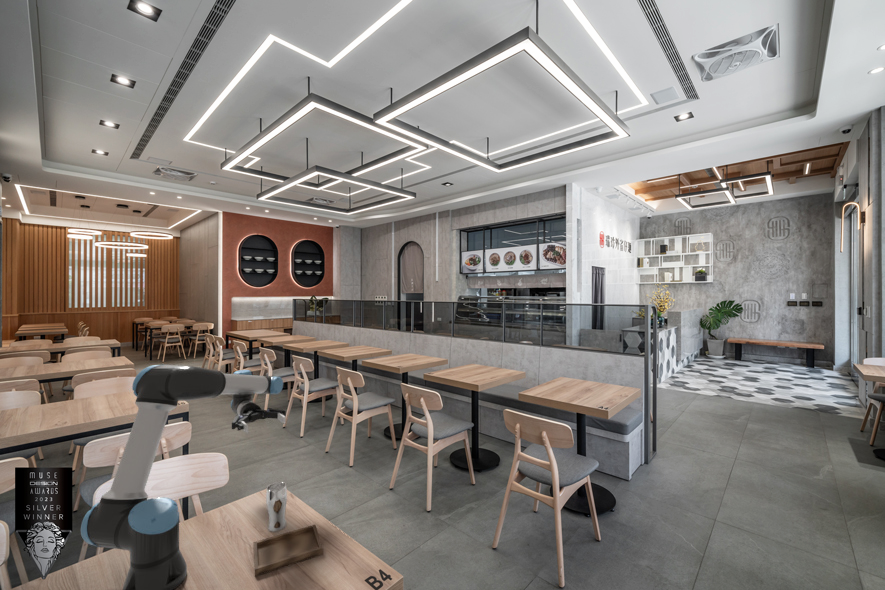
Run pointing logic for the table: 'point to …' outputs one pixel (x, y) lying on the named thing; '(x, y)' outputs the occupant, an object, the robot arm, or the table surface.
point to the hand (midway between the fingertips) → (266, 424)
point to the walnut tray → (286, 549)
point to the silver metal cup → (276, 505)
